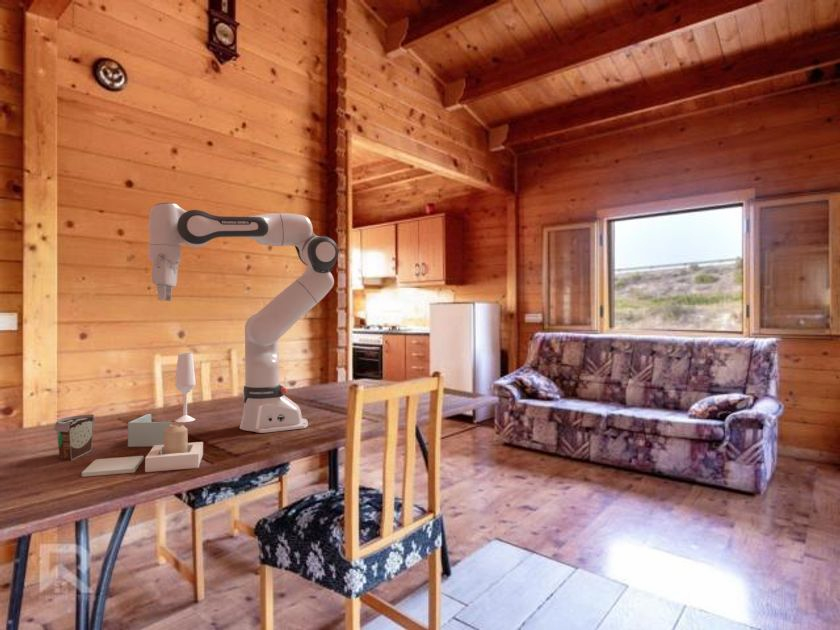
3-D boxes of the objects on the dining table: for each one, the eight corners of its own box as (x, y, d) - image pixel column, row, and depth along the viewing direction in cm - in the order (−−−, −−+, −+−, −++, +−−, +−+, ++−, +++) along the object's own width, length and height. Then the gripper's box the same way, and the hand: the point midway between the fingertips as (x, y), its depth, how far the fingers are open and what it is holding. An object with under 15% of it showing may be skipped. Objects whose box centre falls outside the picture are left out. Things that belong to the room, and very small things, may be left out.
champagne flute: (172, 422, 174) (173, 354, 174) (177, 418, 180) (177, 352, 180) (193, 421, 175) (193, 354, 175) (197, 417, 182) (197, 352, 182)
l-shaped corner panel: (170, 448, 145) (170, 422, 144) (127, 448, 144) (128, 422, 144) (186, 437, 156) (187, 413, 156) (147, 437, 156) (147, 413, 156)
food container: (72, 449, 140) (72, 414, 140) (94, 449, 141) (94, 414, 141) (42, 462, 128) (42, 424, 128) (67, 462, 128) (67, 424, 128)
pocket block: (202, 454, 137) (203, 441, 137) (198, 467, 125) (198, 453, 125) (154, 458, 133) (154, 445, 133) (145, 472, 121) (145, 457, 121)
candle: (177, 466, 126) (178, 427, 126) (158, 465, 127) (159, 426, 127) (191, 460, 131) (192, 422, 131) (173, 459, 132) (173, 421, 132)
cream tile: (143, 459, 132) (143, 455, 132) (134, 472, 121) (134, 468, 121) (95, 463, 128) (95, 459, 128) (81, 476, 118) (81, 472, 118)
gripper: (170, 252, 144) (170, 300, 144) (181, 259, 163) (181, 301, 163) (146, 251, 142) (146, 299, 142) (159, 258, 161) (159, 301, 161)
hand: (164, 300), depth 153 cm, fingers open, 8 cm apart
